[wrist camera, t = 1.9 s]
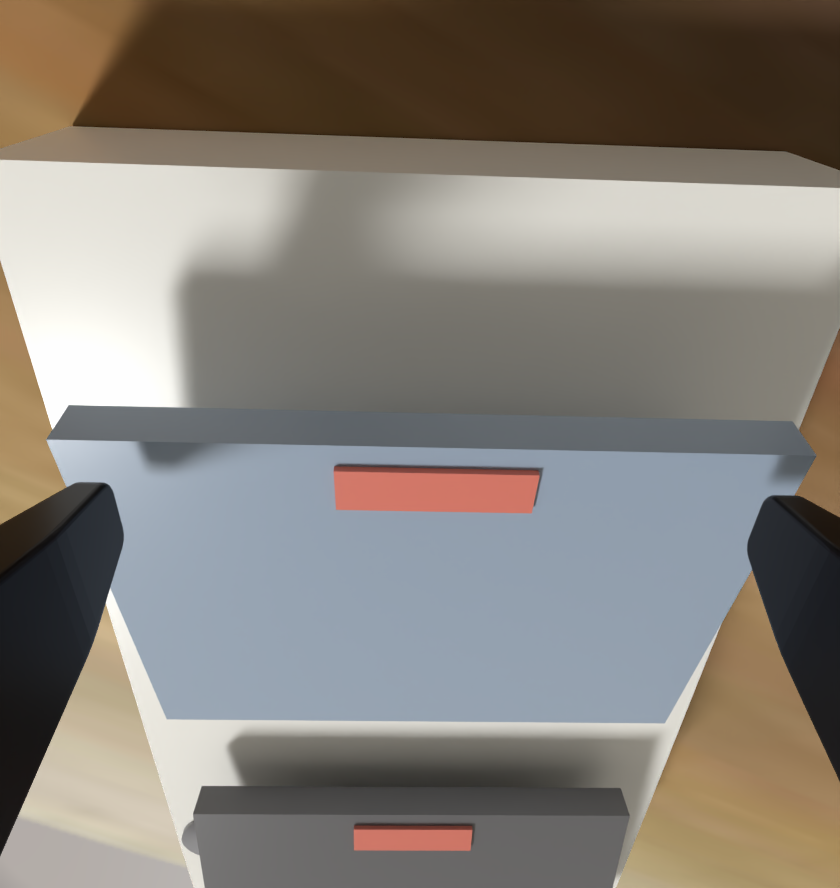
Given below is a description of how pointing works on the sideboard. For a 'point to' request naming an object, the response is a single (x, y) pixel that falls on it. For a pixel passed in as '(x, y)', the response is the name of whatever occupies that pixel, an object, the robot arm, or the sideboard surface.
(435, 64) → the sideboard surface
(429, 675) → the plate
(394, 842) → the rocker charcoal
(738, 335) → the white long base
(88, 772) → the sideboard surface
